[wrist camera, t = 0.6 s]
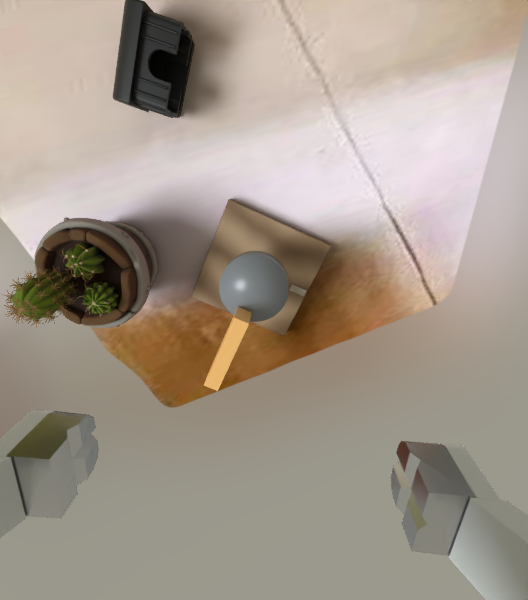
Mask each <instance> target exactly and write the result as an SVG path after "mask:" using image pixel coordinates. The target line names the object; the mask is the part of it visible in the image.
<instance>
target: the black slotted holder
mask: <svg viewBox="0 0 528 600" xmlns="http://www.w3.org/2000/svg"><path fill="white" fill-rule="evenodd" d="M193 50H194V42H193V40H192V36H191V34H190V33H189V31H188V30H186V28H185V26H184V24H183V23H182V22H179V21H176V20H173V19H170V18H168V17H165V16H162V15H159V14H157V13H154V12H153V11H152V10H151V9H150V7H149V6H148V5H147V4H146V3H145V2H144V1H141V0H126V1H125V6H124V14H123V22H122V30H121V37H120V45H119V53H118V60H117V68H116V76H115V84H114V91H113V98H114V100H116V101H119V102H122V103H124V104H127V105H130V106H132V107H135V108H138V109H141V110H144V111H146V112H148V111H149V110H151V111H154V112H156V113H159V114H162V115H165V116H168V117H171V118H173V117H175V118H178V117H180V115H181V111H182V106H183V101H184V96H185V90H186V85H187V80H188V75H189V70H190V65H191V60H192V55H193Z"/></svg>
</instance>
